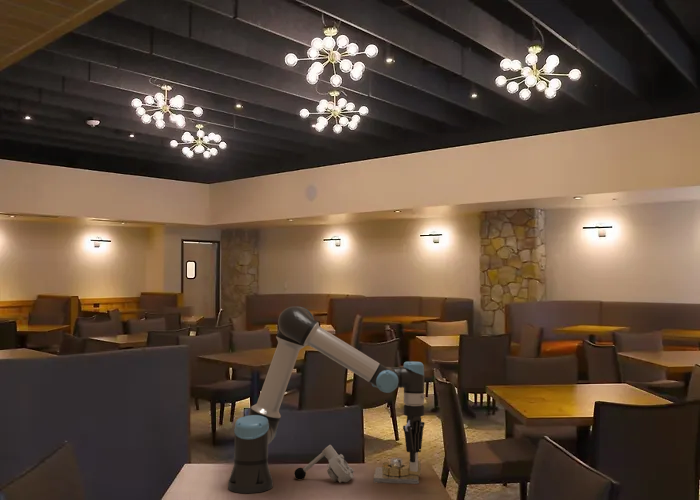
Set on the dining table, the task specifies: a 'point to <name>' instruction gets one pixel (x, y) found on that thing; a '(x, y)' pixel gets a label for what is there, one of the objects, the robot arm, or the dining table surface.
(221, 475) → the dining table surface
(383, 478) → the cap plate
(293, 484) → the dining table surface
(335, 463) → the mechanical valve
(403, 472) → the ring nut
